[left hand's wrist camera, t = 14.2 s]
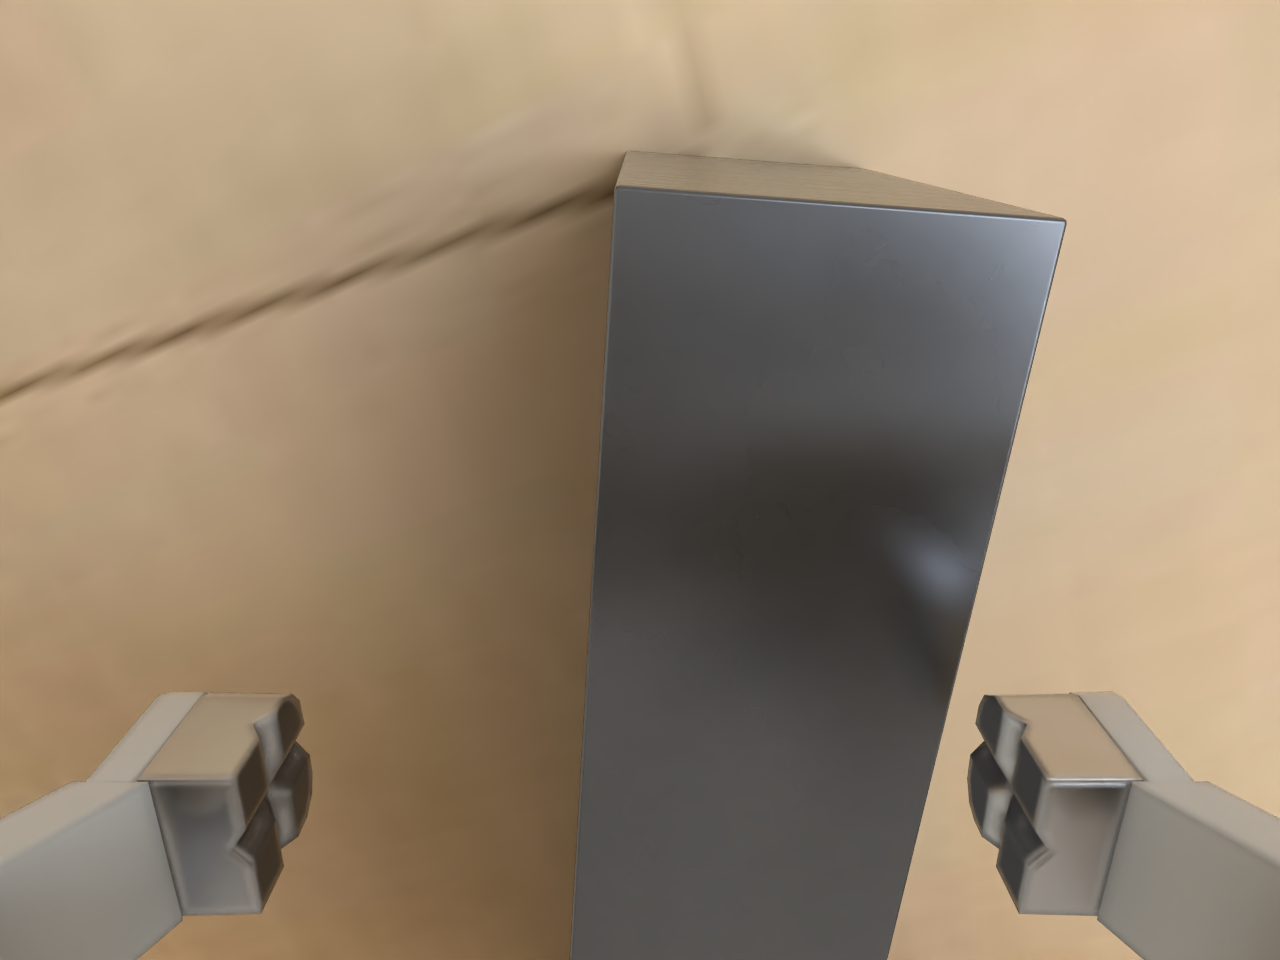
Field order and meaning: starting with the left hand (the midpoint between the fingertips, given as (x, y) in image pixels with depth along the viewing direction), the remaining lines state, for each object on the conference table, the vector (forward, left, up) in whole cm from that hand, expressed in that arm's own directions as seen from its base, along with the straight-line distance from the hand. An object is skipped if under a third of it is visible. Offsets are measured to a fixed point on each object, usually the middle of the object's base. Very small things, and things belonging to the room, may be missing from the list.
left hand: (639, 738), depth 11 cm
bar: (-5, +3, -10) cm, 11 cm away
